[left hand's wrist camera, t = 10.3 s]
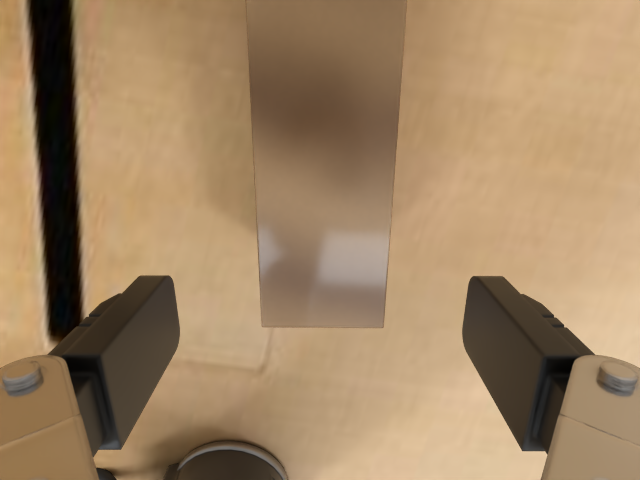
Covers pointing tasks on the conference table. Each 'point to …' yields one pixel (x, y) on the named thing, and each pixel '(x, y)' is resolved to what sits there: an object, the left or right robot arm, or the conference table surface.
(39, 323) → the conference table surface
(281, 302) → the cabinet
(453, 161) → the conference table surface
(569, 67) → the conference table surface
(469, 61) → the conference table surface
